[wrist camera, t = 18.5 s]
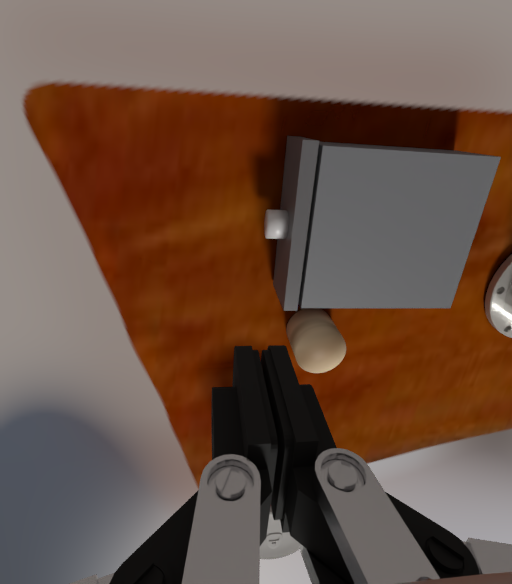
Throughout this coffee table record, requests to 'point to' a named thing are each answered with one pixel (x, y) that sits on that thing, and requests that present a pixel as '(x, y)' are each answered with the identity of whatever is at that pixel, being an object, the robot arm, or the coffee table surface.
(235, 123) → the coffee table surface
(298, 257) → the drawer
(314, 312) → the beige rounded lump
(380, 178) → the housing
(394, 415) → the coffee table surface
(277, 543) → the canned food
